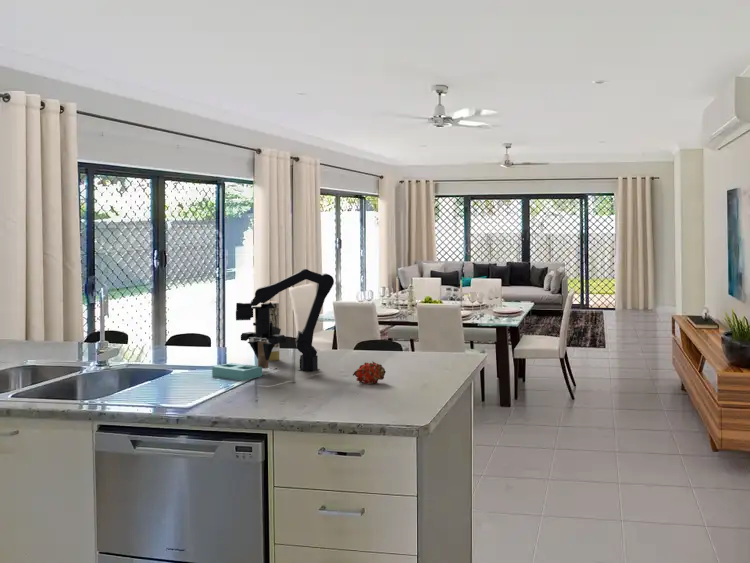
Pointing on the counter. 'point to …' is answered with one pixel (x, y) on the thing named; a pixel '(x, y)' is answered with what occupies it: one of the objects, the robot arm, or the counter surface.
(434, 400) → the counter surface
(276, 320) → the paper tube
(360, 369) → the dragon fruit
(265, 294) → the robot arm
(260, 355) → the walnut peg
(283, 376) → the counter surface
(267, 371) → the rubber mat
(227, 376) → the hole block
